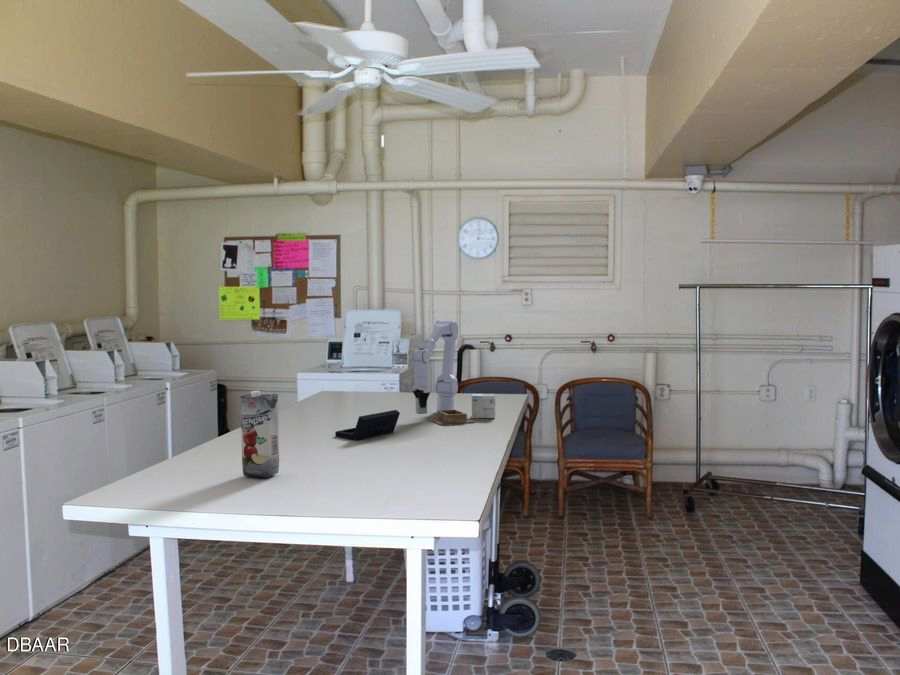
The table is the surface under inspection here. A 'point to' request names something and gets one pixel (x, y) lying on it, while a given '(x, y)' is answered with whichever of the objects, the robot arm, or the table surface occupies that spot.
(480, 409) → the light bulb box
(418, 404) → the steel block
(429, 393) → the robot arm
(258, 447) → the juice carton
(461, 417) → the walnut well
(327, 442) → the table surface
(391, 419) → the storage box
